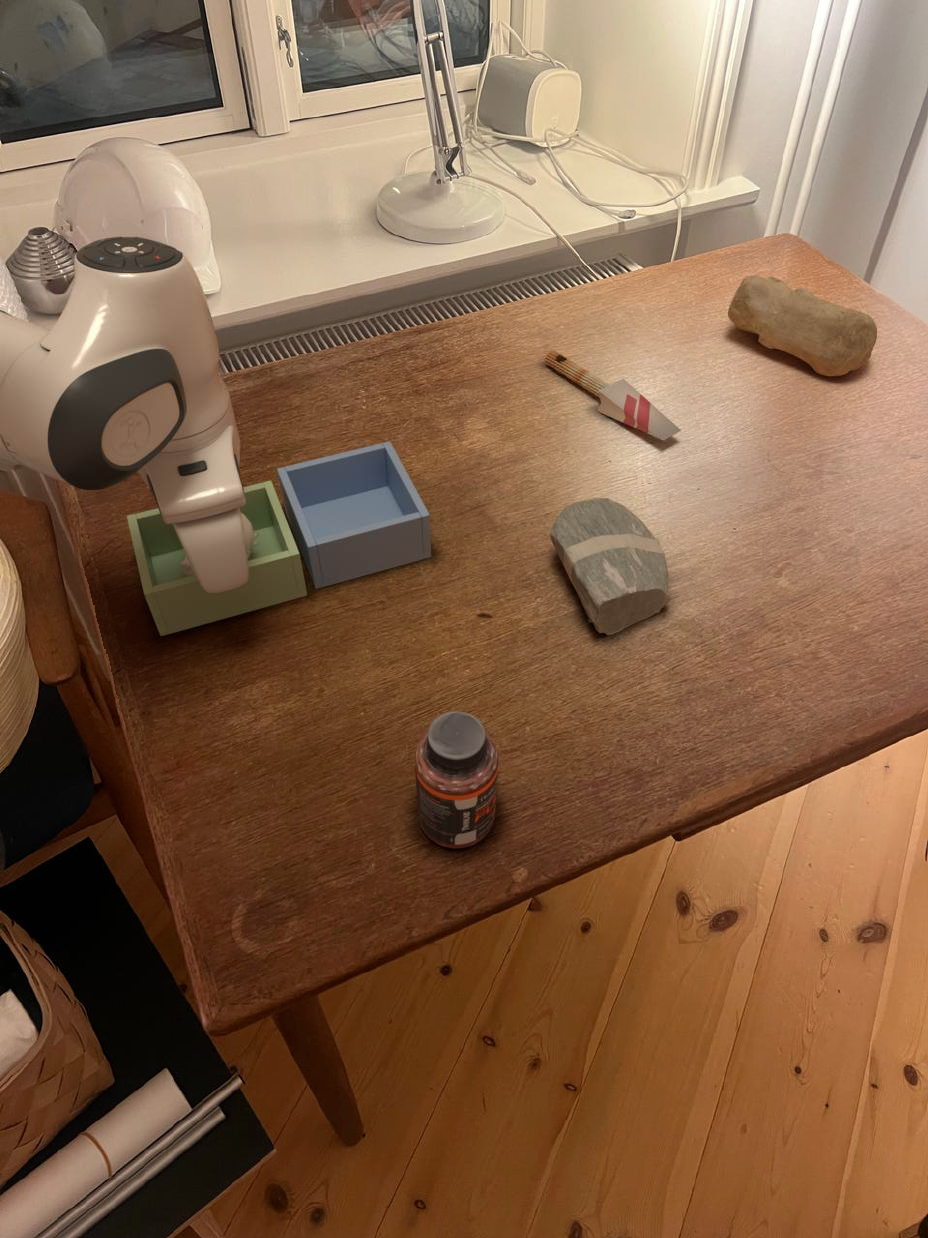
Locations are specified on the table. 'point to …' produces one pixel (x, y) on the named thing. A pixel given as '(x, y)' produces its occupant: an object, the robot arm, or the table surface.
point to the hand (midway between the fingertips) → (216, 555)
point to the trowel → (617, 399)
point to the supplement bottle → (456, 780)
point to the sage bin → (183, 597)
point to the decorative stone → (611, 563)
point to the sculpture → (803, 325)
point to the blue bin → (355, 514)
